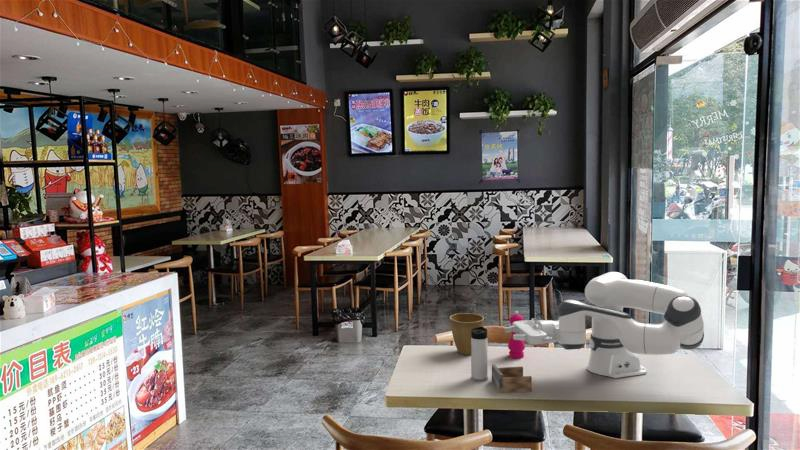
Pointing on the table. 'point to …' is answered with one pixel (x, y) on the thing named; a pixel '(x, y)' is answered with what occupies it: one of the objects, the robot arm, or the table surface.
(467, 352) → the plant pot
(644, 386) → the table surface
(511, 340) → the pepper mill
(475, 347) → the travel mug
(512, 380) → the cradle
